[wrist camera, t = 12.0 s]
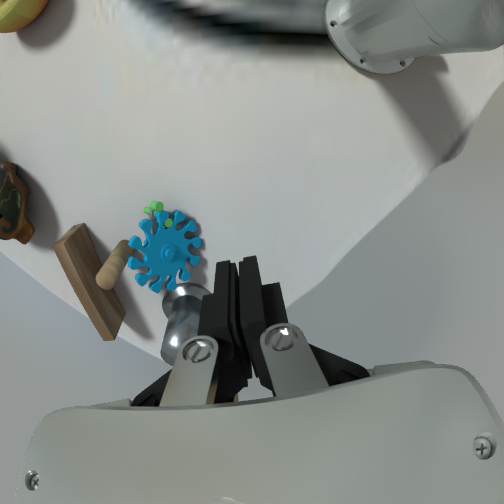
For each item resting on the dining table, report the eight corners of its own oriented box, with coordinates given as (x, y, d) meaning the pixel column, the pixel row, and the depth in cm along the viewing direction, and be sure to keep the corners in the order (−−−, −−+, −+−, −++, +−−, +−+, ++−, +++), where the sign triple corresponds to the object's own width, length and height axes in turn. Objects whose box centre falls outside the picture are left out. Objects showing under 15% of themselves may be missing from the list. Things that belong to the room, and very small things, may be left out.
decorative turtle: (5, 133, 27) (-29, 146, 20) (59, 206, 34) (33, 231, 27) (-21, 177, 28) (-51, 196, 21) (29, 243, 36) (5, 270, 29)
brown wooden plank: (84, 222, 34) (63, 243, 29) (125, 313, 42) (114, 340, 37) (73, 225, 34) (52, 246, 29) (115, 314, 42) (104, 340, 37)
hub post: (208, 278, 40) (202, 329, 31) (222, 321, 43) (220, 372, 35) (155, 287, 40) (138, 336, 31) (173, 327, 44) (163, 377, 35)
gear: (207, 279, 38) (140, 307, 31) (181, 266, 41) (120, 289, 35) (201, 194, 34) (124, 210, 27) (174, 191, 37) (106, 205, 31)
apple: (52, -34, 15) (23, -49, 8) (68, 0, 19) (35, -14, 12) (5, 10, 16) (-28, 5, 9) (18, 47, 21) (-19, 45, 14)
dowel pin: (130, 238, 36) (109, 270, 29) (136, 253, 37) (117, 288, 30) (115, 241, 36) (92, 273, 29) (121, 257, 37) (100, 291, 30)
